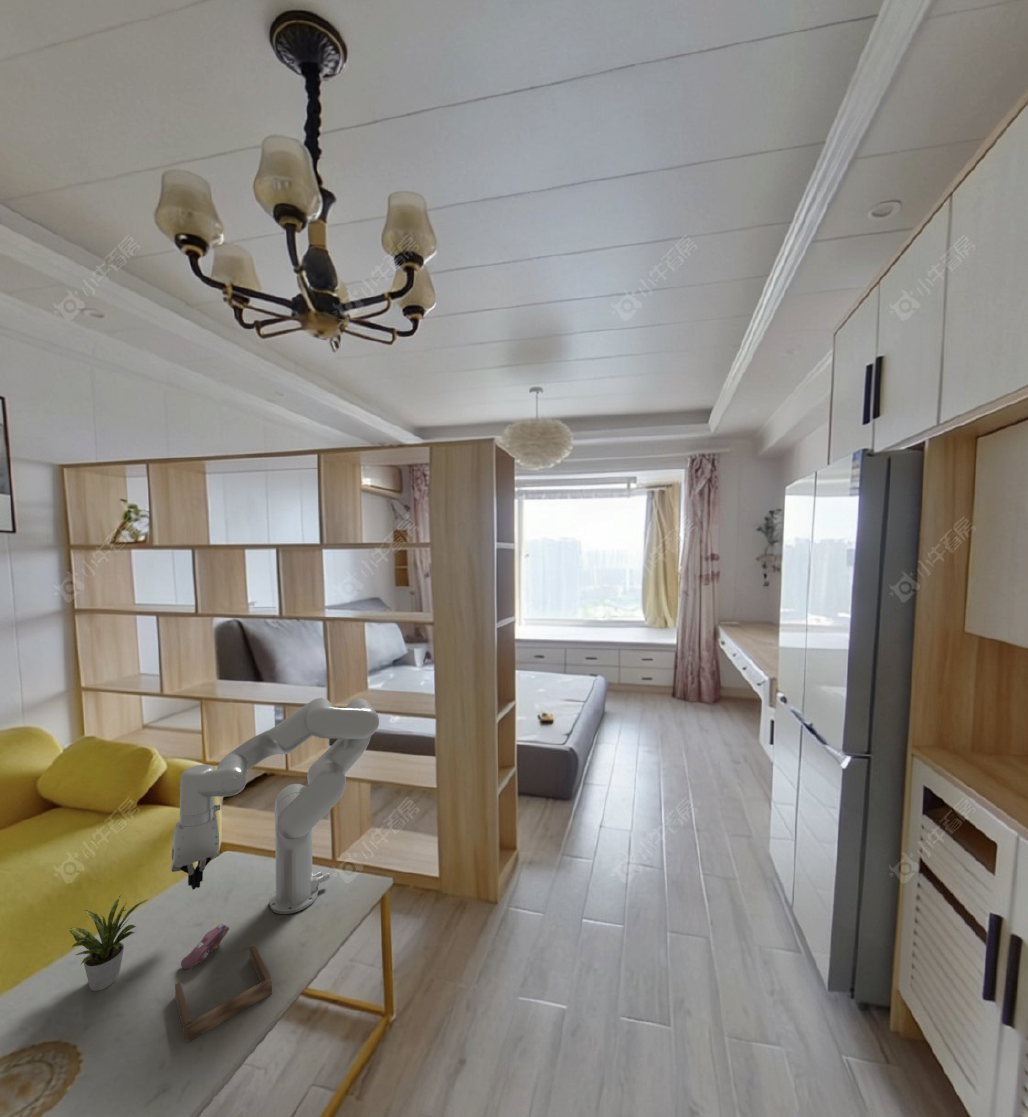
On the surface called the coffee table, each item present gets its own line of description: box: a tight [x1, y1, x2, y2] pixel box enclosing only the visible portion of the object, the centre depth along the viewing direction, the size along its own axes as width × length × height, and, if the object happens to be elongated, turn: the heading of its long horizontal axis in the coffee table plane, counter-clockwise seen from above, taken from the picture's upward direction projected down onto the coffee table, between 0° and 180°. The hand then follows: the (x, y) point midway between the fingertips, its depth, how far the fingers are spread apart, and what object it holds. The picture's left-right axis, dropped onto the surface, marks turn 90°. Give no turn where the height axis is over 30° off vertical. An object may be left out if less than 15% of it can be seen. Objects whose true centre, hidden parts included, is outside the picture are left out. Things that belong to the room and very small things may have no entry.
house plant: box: [68, 894, 148, 992], centre depth 113 cm, size 14×14×16 cm
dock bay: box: [174, 944, 273, 1043], centre depth 108 cm, size 16×14×3 cm
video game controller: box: [180, 923, 230, 970], centre depth 119 cm, size 10×5×7 cm, turn 169°
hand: (195, 885), depth 127 cm, fingers closed
